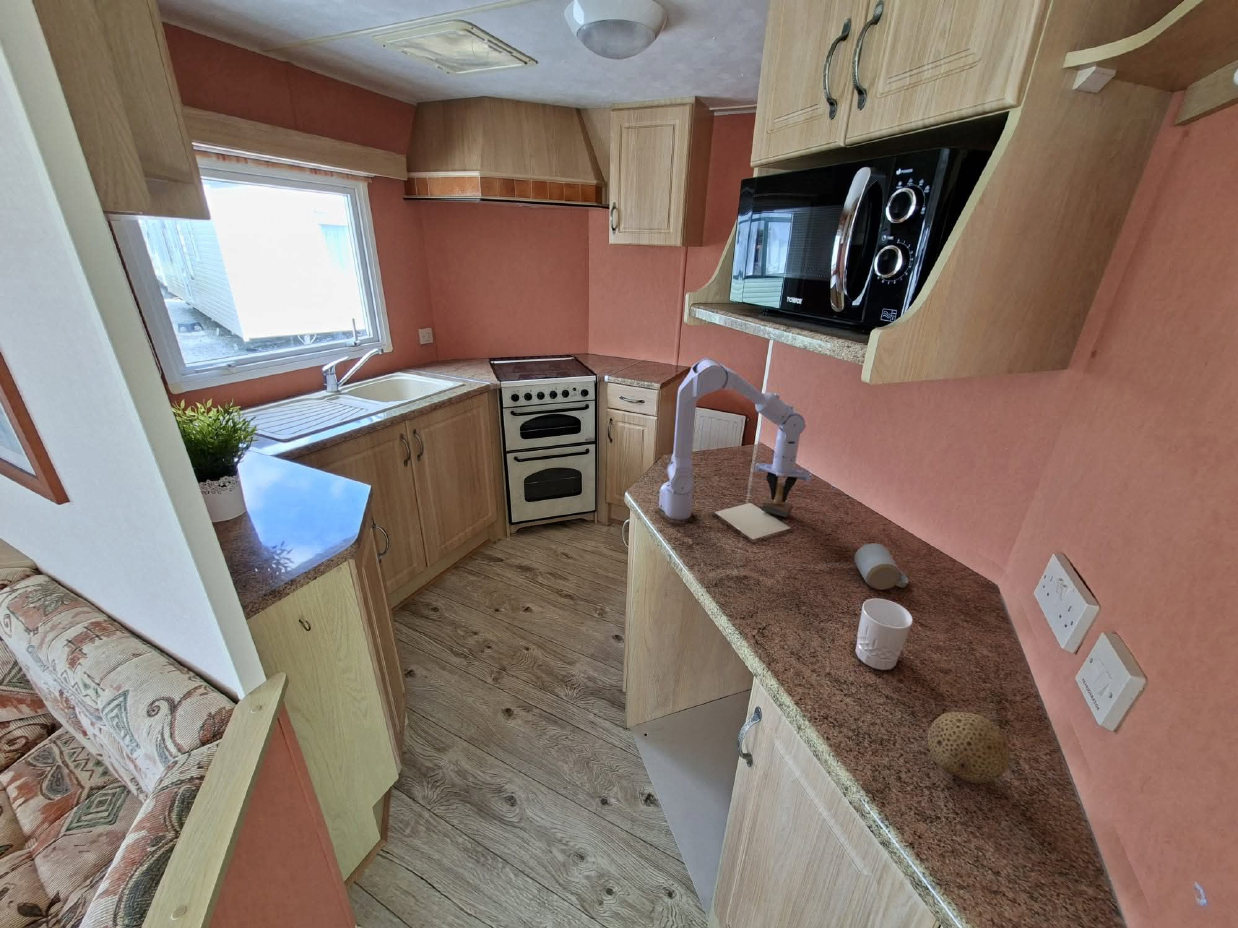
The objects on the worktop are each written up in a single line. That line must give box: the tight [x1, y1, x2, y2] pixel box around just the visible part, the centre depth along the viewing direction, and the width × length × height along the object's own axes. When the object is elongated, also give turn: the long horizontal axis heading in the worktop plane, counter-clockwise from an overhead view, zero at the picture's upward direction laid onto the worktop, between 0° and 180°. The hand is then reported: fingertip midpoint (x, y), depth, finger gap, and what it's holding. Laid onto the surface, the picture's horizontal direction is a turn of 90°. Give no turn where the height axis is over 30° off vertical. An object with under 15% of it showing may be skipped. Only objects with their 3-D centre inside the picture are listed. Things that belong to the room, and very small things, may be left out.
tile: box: [714, 502, 791, 540], centre depth 134 cm, size 16×13×1 cm
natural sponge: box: [927, 711, 1011, 784], centre depth 68 cm, size 9×9×10 cm
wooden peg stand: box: [761, 482, 794, 518], centre depth 135 cm, size 7×4×8 cm, turn 54°
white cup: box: [855, 598, 914, 671], centre depth 88 cm, size 8×8×10 cm
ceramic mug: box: [853, 542, 909, 591], centre depth 109 cm, size 11×8×8 cm
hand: (778, 499), depth 136 cm, fingers closed on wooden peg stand, 2 cm apart
